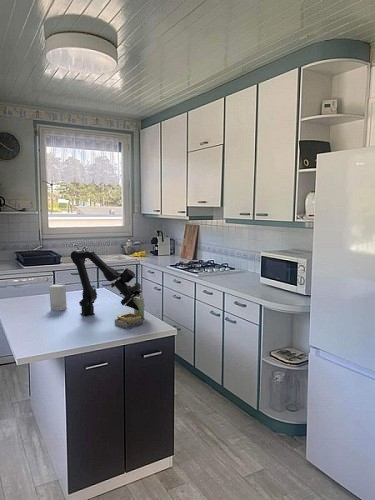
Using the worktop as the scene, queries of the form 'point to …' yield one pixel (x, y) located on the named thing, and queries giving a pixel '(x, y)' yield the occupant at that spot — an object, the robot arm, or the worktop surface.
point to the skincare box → (57, 297)
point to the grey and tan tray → (128, 320)
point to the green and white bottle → (139, 306)
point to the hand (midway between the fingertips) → (141, 307)
